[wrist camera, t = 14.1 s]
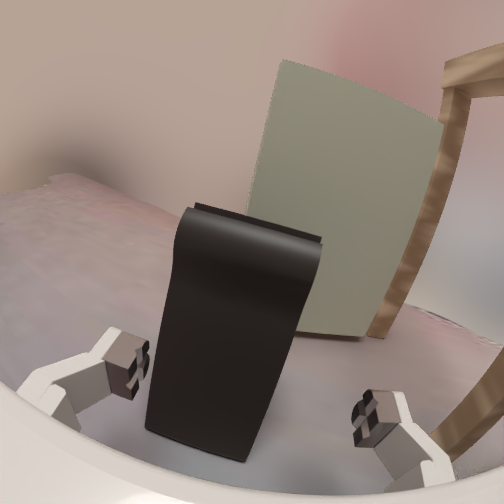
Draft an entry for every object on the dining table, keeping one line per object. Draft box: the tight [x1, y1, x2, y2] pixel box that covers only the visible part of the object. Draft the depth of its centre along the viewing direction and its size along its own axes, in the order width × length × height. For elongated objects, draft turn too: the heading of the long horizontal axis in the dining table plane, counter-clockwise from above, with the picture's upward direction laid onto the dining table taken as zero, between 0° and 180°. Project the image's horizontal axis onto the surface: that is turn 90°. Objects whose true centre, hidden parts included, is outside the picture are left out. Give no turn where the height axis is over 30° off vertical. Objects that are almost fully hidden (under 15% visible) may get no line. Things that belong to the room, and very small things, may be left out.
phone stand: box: [145, 203, 323, 462], centre depth 15 cm, size 9×6×12 cm, turn 168°
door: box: [244, 60, 444, 337], centre depth 21 cm, size 3×13×20 cm, turn 93°
